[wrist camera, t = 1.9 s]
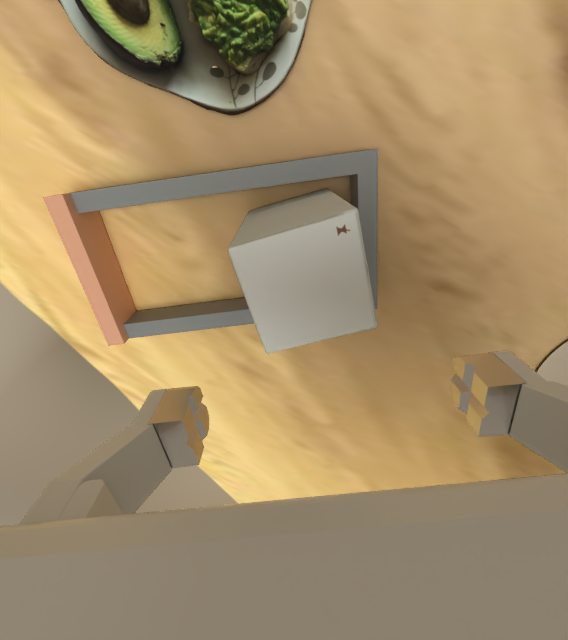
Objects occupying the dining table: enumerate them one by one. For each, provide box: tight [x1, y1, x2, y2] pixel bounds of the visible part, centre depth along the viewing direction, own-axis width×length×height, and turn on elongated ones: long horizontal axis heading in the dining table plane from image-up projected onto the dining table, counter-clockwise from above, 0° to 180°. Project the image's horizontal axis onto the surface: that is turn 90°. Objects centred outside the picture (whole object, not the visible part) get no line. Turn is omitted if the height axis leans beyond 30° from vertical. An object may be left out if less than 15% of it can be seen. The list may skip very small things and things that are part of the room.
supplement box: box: [228, 188, 377, 354], centre depth 24 cm, size 7×7×13 cm
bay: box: [43, 149, 378, 346], centre depth 28 cm, size 25×13×4 cm, turn 97°
